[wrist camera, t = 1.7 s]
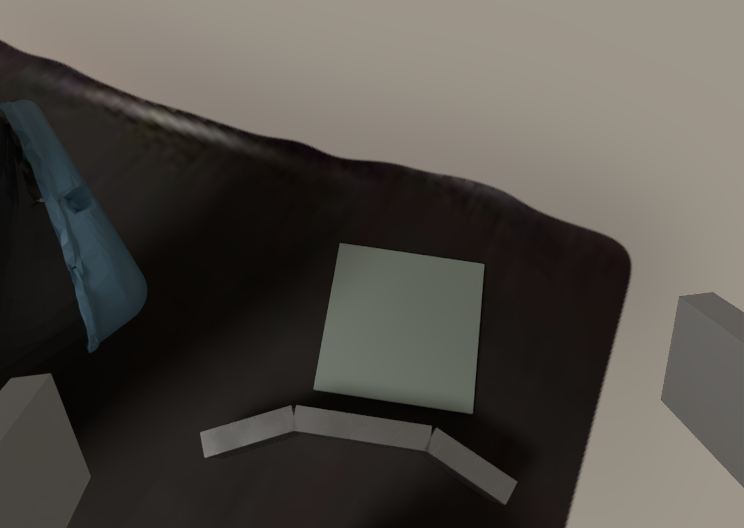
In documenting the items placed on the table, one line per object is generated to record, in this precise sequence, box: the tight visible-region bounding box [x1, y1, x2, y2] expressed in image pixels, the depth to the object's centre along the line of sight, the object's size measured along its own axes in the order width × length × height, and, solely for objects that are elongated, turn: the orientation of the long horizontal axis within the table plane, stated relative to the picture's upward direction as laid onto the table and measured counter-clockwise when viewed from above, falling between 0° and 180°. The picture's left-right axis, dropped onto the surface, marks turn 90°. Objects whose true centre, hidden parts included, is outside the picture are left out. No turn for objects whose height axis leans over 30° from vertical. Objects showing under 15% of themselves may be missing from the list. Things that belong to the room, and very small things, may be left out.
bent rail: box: [200, 405, 517, 505], centre depth 37 cm, size 20×4×5 cm, turn 82°
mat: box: [313, 243, 484, 414], centre depth 43 cm, size 12×12×1 cm
